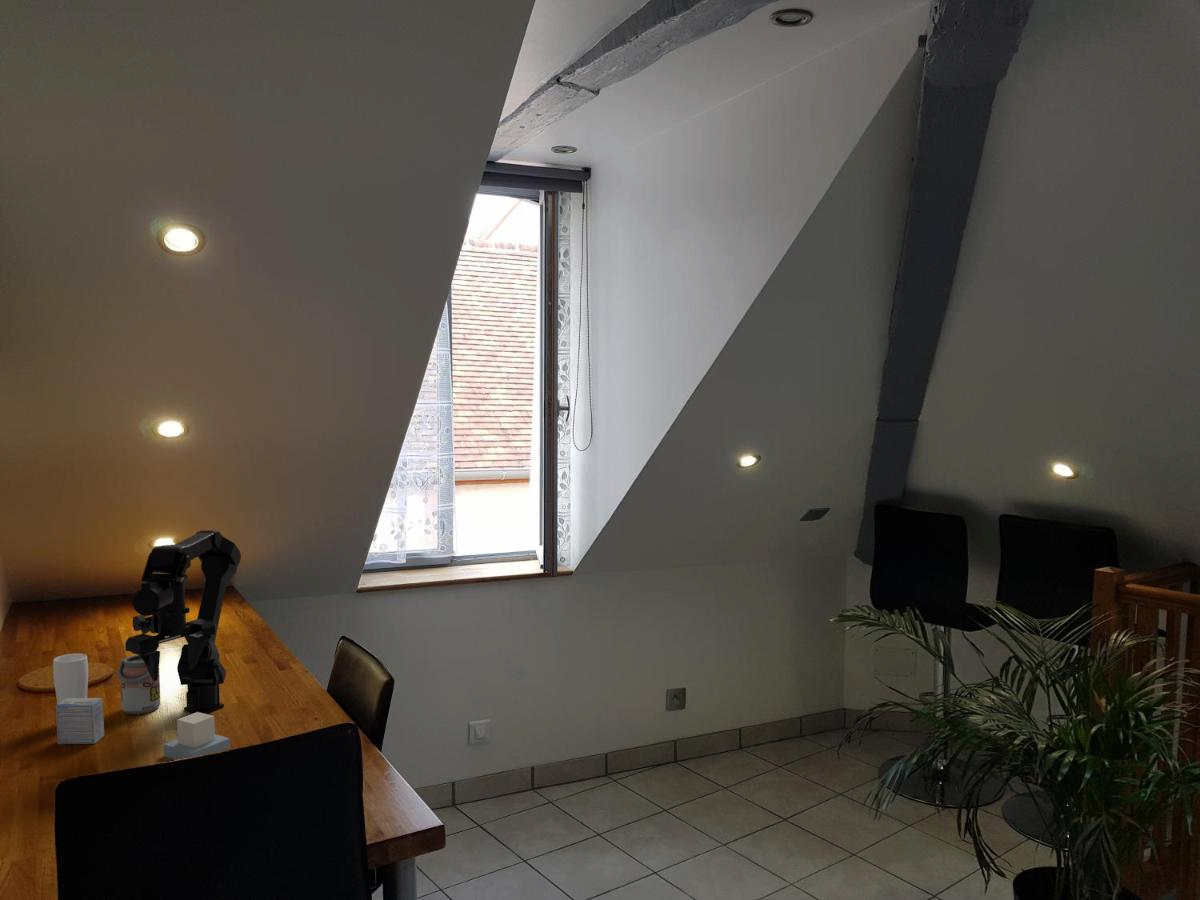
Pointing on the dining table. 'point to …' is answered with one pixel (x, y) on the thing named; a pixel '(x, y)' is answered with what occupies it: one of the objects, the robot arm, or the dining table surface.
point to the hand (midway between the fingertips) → (173, 674)
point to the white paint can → (138, 686)
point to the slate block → (184, 751)
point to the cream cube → (196, 729)
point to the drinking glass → (70, 676)
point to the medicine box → (80, 721)
